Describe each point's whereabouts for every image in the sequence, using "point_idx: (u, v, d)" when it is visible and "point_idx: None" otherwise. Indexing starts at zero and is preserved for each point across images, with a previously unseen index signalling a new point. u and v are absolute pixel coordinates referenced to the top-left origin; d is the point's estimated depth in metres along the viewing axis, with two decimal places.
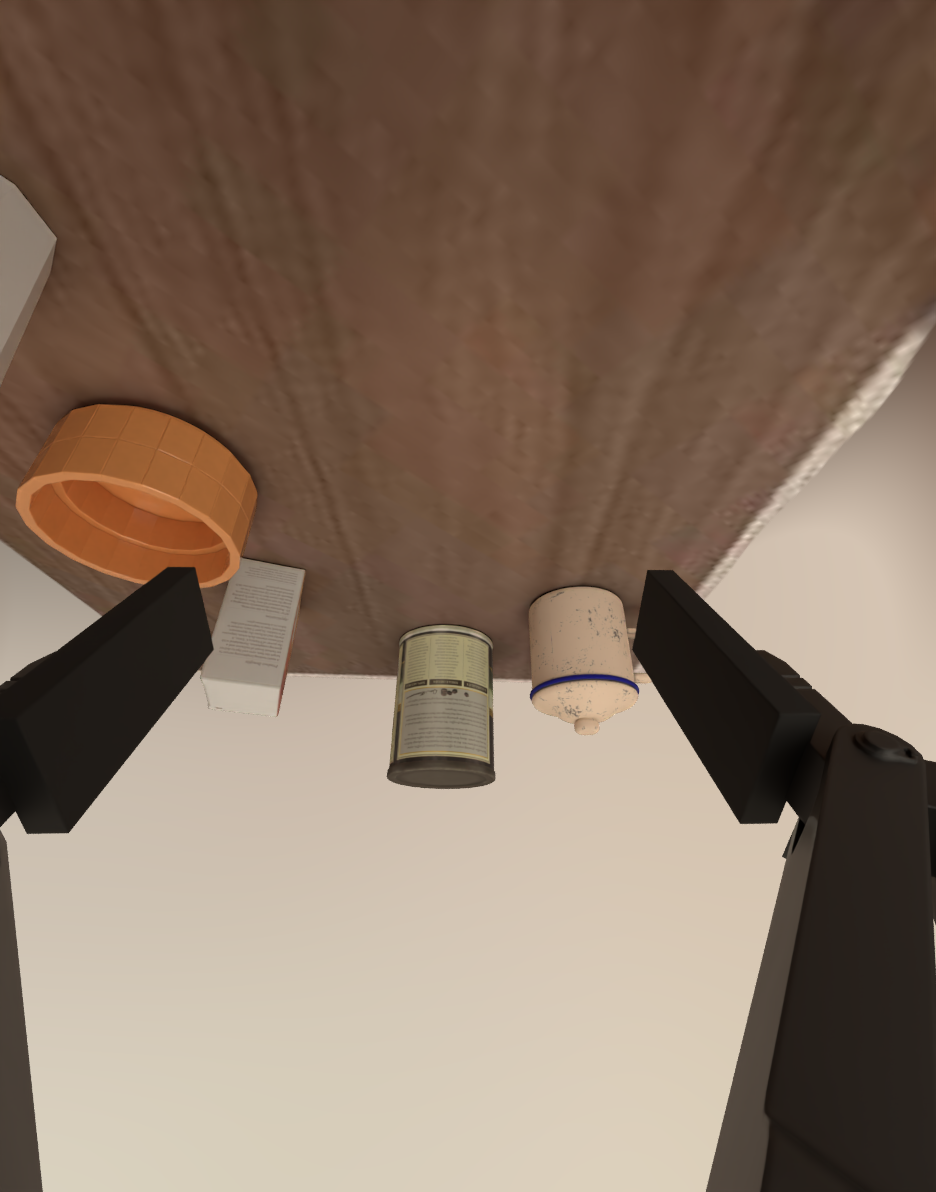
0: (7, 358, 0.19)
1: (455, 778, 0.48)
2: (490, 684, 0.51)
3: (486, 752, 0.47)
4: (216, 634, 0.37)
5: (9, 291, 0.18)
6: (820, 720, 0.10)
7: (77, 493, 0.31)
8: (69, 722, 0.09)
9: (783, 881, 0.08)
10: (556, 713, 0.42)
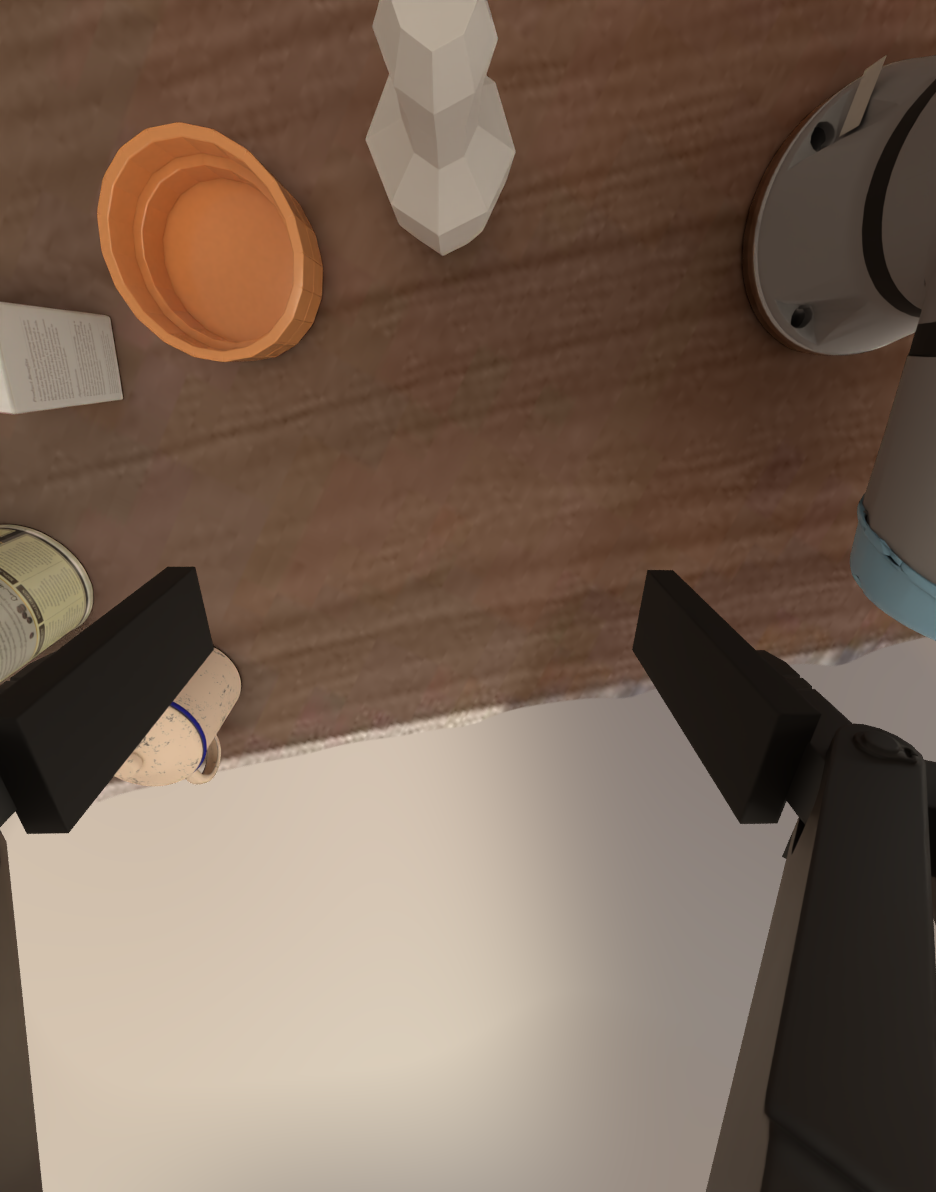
0: (418, 238, 0.28)
1: None
2: (37, 655, 0.40)
3: None
4: (38, 312, 0.28)
5: (449, 249, 0.30)
6: (820, 720, 0.10)
7: (198, 171, 0.30)
8: (69, 722, 0.09)
9: (783, 881, 0.08)
10: None
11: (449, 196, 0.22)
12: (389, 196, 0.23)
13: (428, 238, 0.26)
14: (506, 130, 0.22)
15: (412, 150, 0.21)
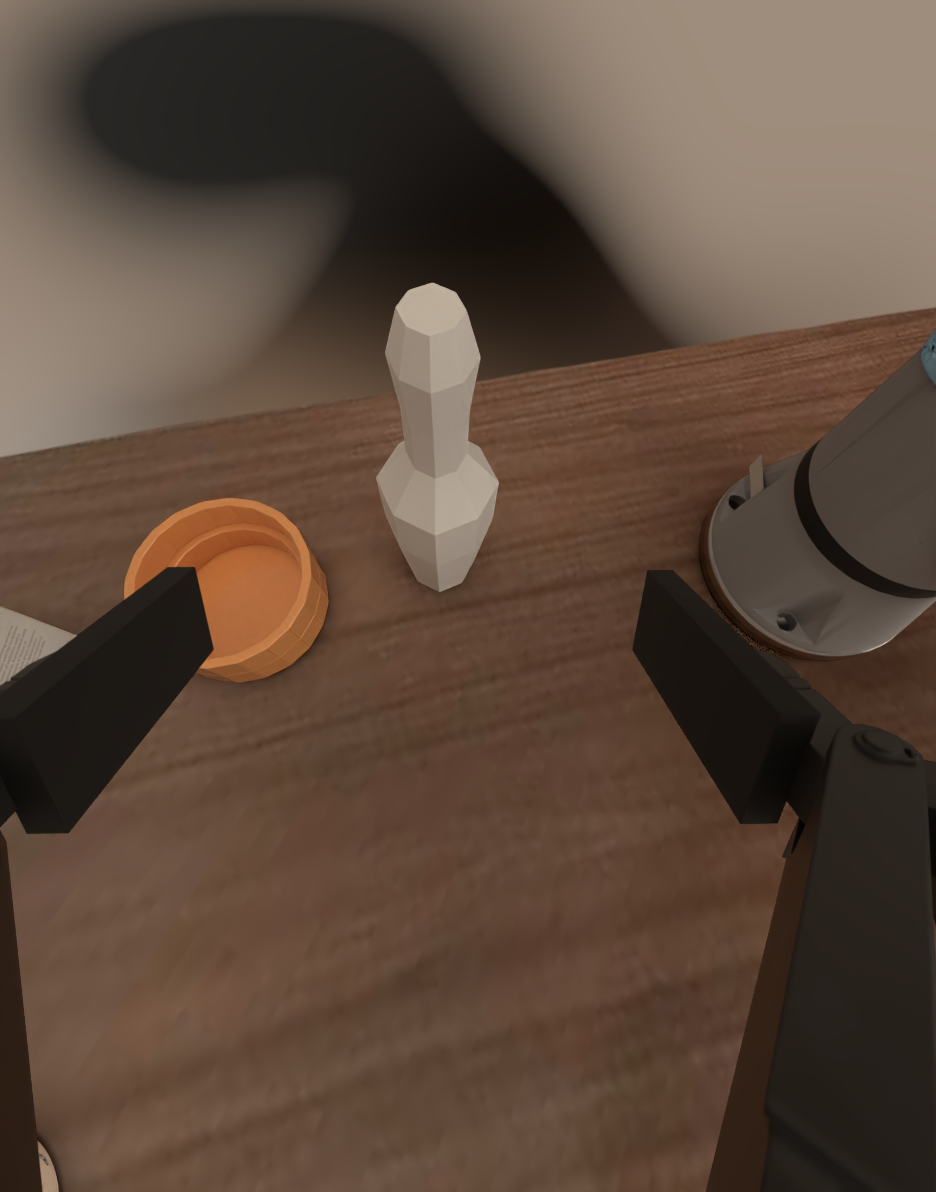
0: (417, 561, 0.32)
1: None
2: None
3: None
4: (34, 623, 0.28)
5: (445, 574, 0.33)
6: (820, 720, 0.10)
7: (236, 535, 0.36)
8: (68, 722, 0.09)
9: (783, 881, 0.08)
10: None
11: (444, 502, 0.25)
12: (392, 510, 0.27)
13: (426, 549, 0.29)
14: (490, 469, 0.27)
15: (413, 468, 0.25)
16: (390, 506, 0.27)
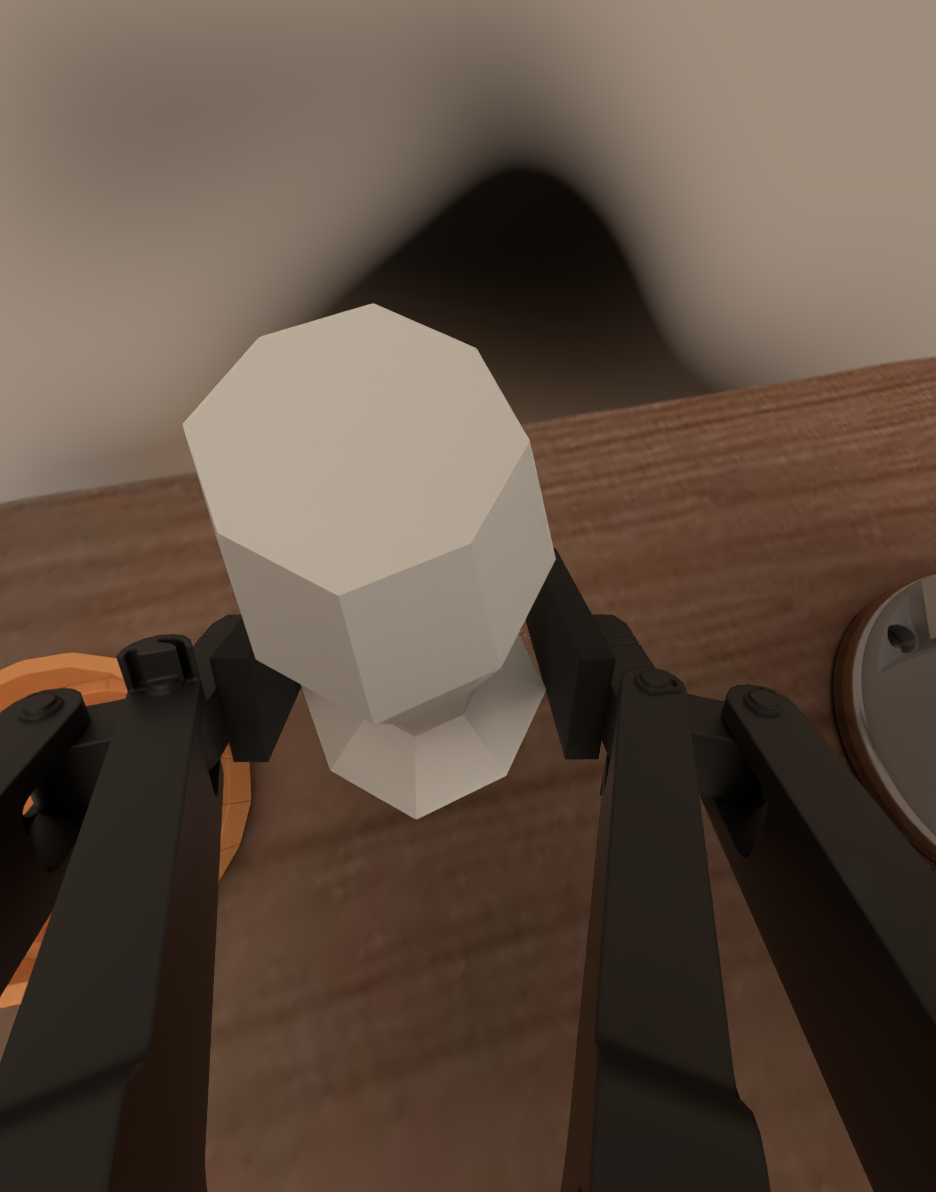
0: None
1: None
2: None
3: None
4: None
5: None
6: (630, 668, 0.11)
7: (99, 696, 0.22)
8: (268, 668, 0.11)
9: (600, 817, 0.09)
10: None
11: (436, 767, 0.12)
12: (328, 760, 0.13)
13: None
14: (529, 664, 0.14)
15: None
16: (325, 750, 0.13)
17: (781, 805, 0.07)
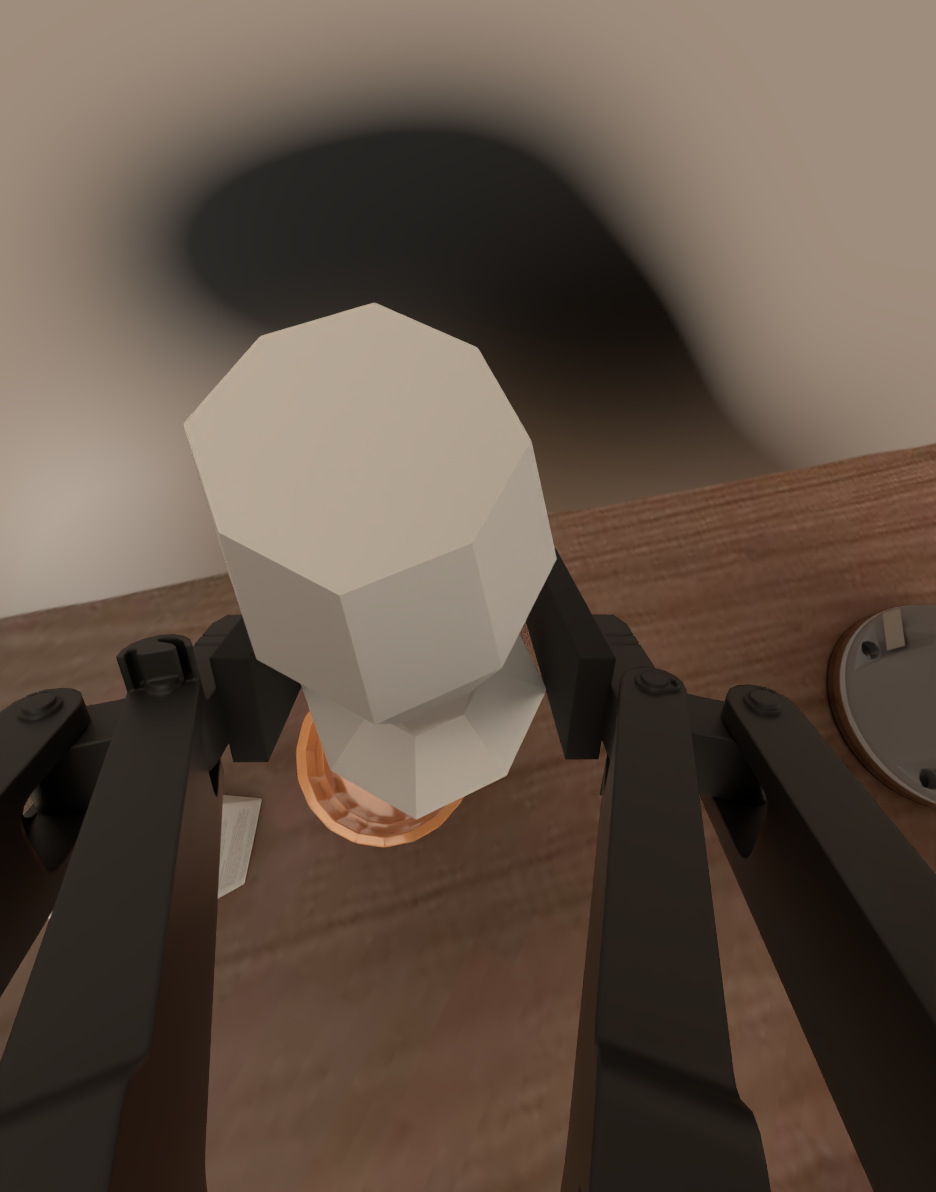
0: None
1: None
2: None
3: None
4: None
5: None
6: (630, 668, 0.11)
7: None
8: (268, 668, 0.11)
9: (600, 818, 0.09)
10: None
11: (436, 767, 0.12)
12: (329, 760, 0.13)
13: None
14: (529, 664, 0.14)
15: None
16: (325, 750, 0.13)
17: (781, 805, 0.07)
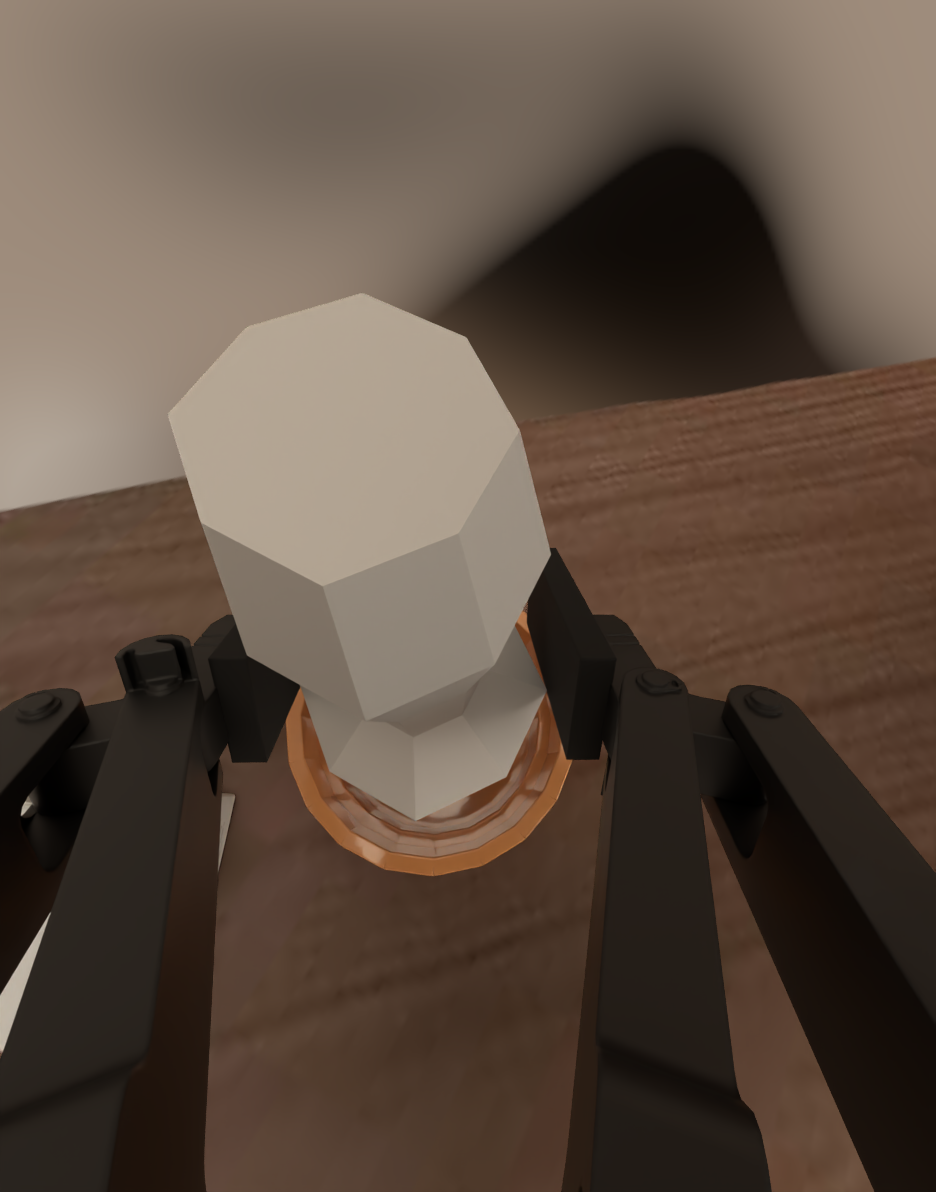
0: None
1: None
2: None
3: None
4: None
5: None
6: (631, 668, 0.11)
7: None
8: (267, 668, 0.11)
9: (601, 818, 0.09)
10: None
11: (435, 768, 0.12)
12: (327, 761, 0.13)
13: None
14: (529, 664, 0.14)
15: None
16: (324, 751, 0.13)
17: (782, 805, 0.07)
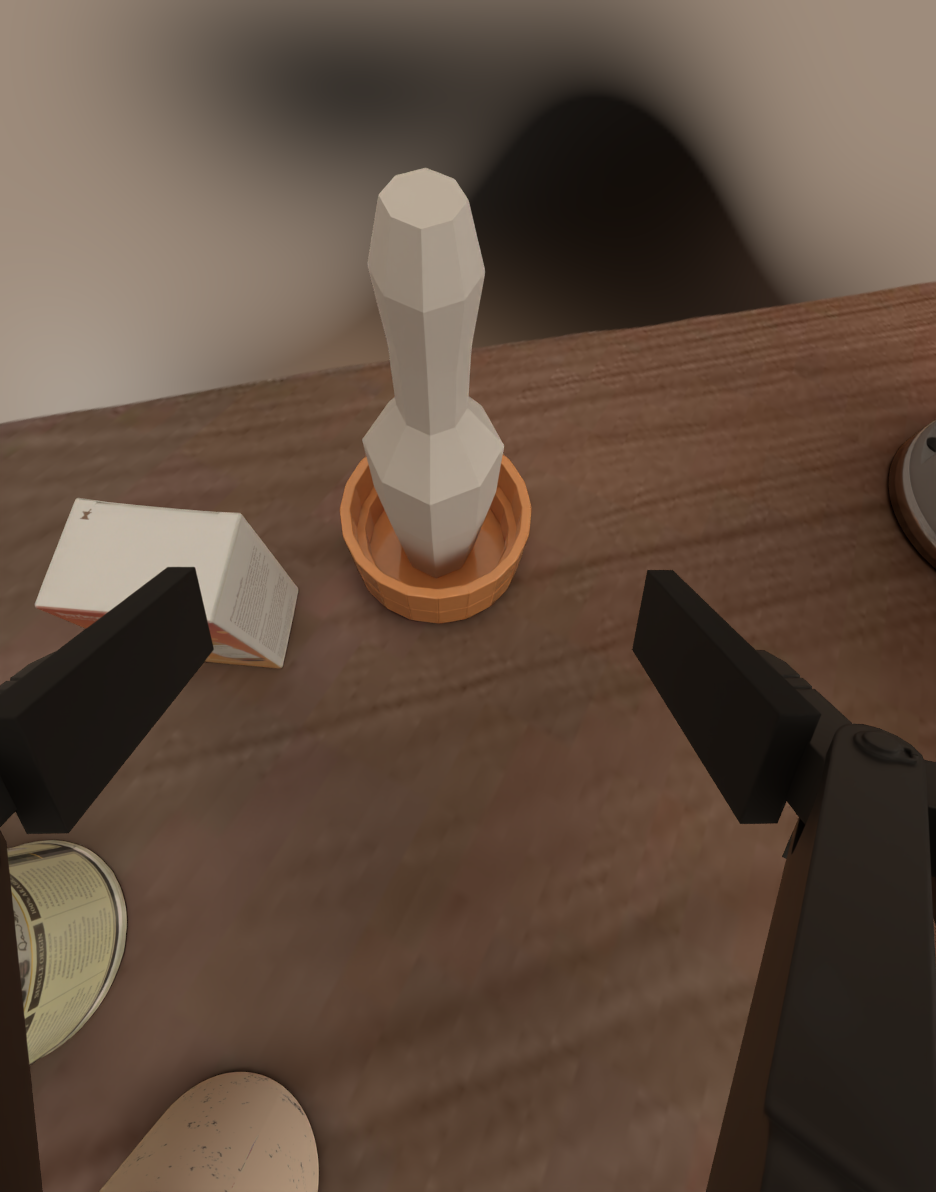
0: (411, 540, 0.28)
1: None
2: None
3: None
4: (264, 548, 0.27)
5: (442, 555, 0.29)
6: (820, 720, 0.10)
7: None
8: (69, 722, 0.09)
9: (783, 881, 0.08)
10: None
11: (441, 464, 0.22)
12: (380, 476, 0.23)
13: (420, 524, 0.25)
14: (494, 430, 0.24)
15: (404, 423, 0.21)
16: (378, 471, 0.23)
17: None
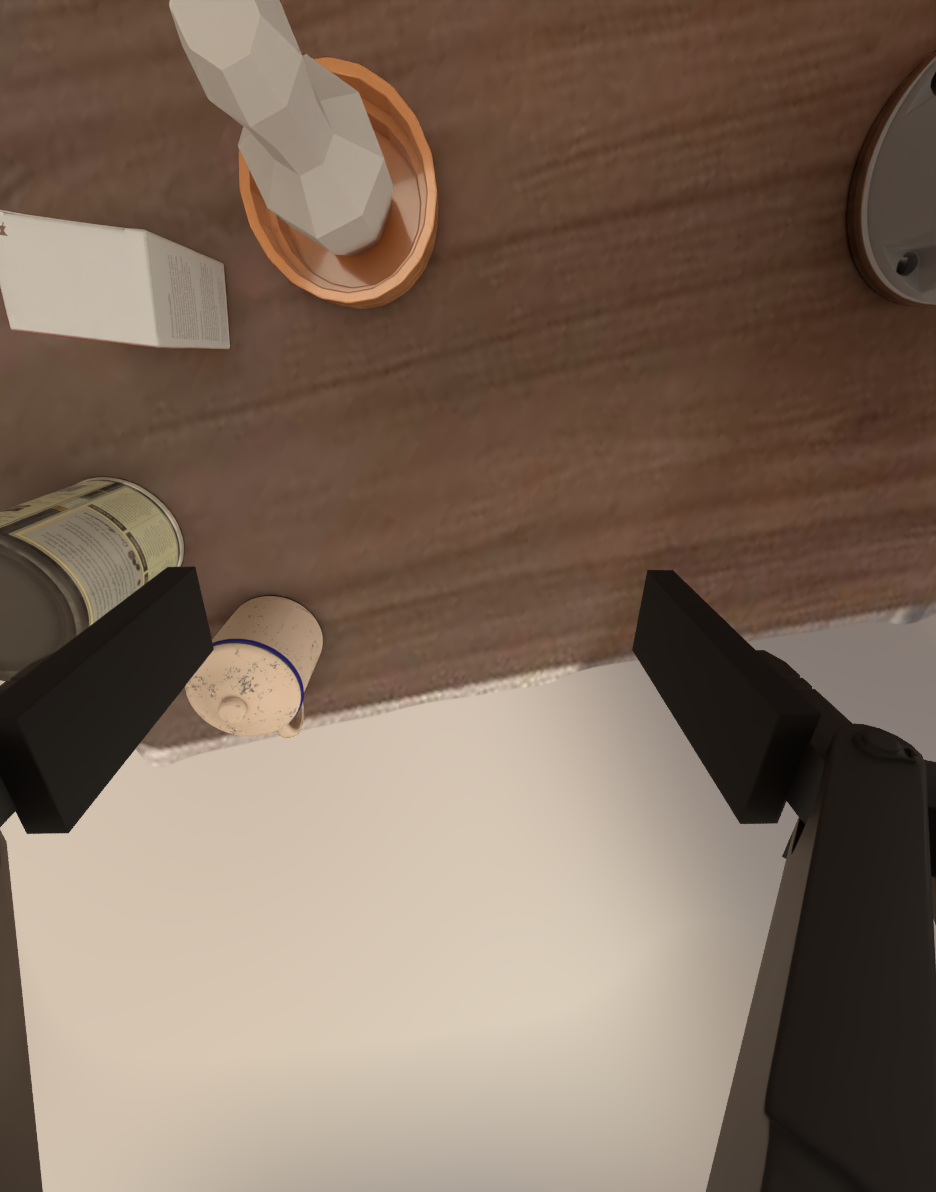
0: None
1: (4, 630, 0.31)
2: None
3: None
4: (178, 249, 0.29)
5: (350, 251, 0.31)
6: (820, 720, 0.10)
7: None
8: (69, 722, 0.09)
9: (783, 881, 0.08)
10: (223, 676, 0.38)
11: (318, 201, 0.23)
12: (265, 200, 0.24)
13: (315, 240, 0.27)
14: (372, 138, 0.23)
15: (272, 157, 0.21)
16: (262, 194, 0.24)
17: None
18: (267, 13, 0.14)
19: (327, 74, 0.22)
